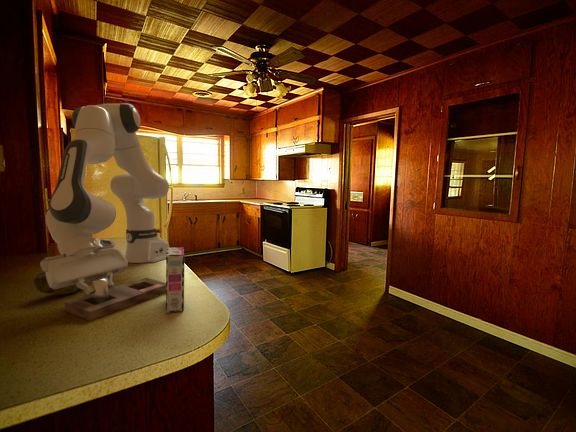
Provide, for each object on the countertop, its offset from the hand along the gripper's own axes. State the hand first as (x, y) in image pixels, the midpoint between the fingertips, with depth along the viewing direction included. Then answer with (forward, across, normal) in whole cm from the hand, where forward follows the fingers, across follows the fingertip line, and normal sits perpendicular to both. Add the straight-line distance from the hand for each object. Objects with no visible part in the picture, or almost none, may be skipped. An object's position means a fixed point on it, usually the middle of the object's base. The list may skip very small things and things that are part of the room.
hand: (101, 290), depth 83 cm
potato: (-11, 0, +18) cm, 21 cm away
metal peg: (+3, 0, +4) cm, 5 cm away
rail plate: (+3, +6, +4) cm, 8 cm away
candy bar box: (+15, +12, -7) cm, 21 cm away
